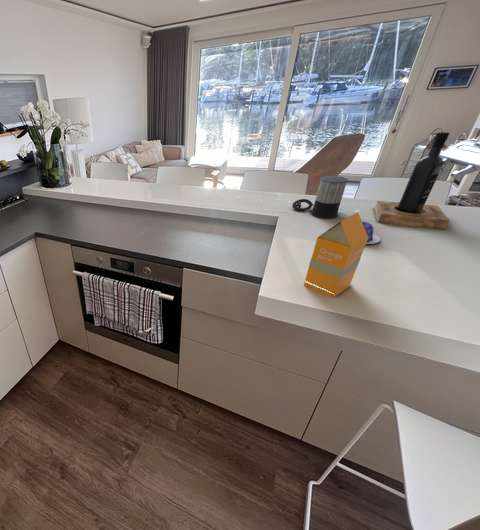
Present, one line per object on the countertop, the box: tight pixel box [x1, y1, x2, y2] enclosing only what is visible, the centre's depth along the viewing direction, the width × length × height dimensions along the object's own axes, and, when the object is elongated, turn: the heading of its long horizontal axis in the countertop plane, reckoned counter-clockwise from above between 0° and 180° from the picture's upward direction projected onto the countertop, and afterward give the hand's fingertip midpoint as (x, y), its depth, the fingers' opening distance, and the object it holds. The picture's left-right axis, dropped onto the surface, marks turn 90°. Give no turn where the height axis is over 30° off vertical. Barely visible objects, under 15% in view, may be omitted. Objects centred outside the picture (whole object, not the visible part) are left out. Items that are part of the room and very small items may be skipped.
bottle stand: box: [374, 200, 450, 230], centre depth 109 cm, size 18×17×4 cm
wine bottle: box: [397, 131, 451, 214], centre depth 102 cm, size 6×6×30 cm
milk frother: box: [292, 175, 349, 219], centre depth 118 cm, size 14×16×15 cm
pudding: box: [362, 221, 381, 245], centre depth 98 cm, size 12×12×5 cm
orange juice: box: [303, 212, 368, 299], centre depth 73 cm, size 8×9×20 cm
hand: (443, 173), depth 100 cm, fingers open, 8 cm apart
